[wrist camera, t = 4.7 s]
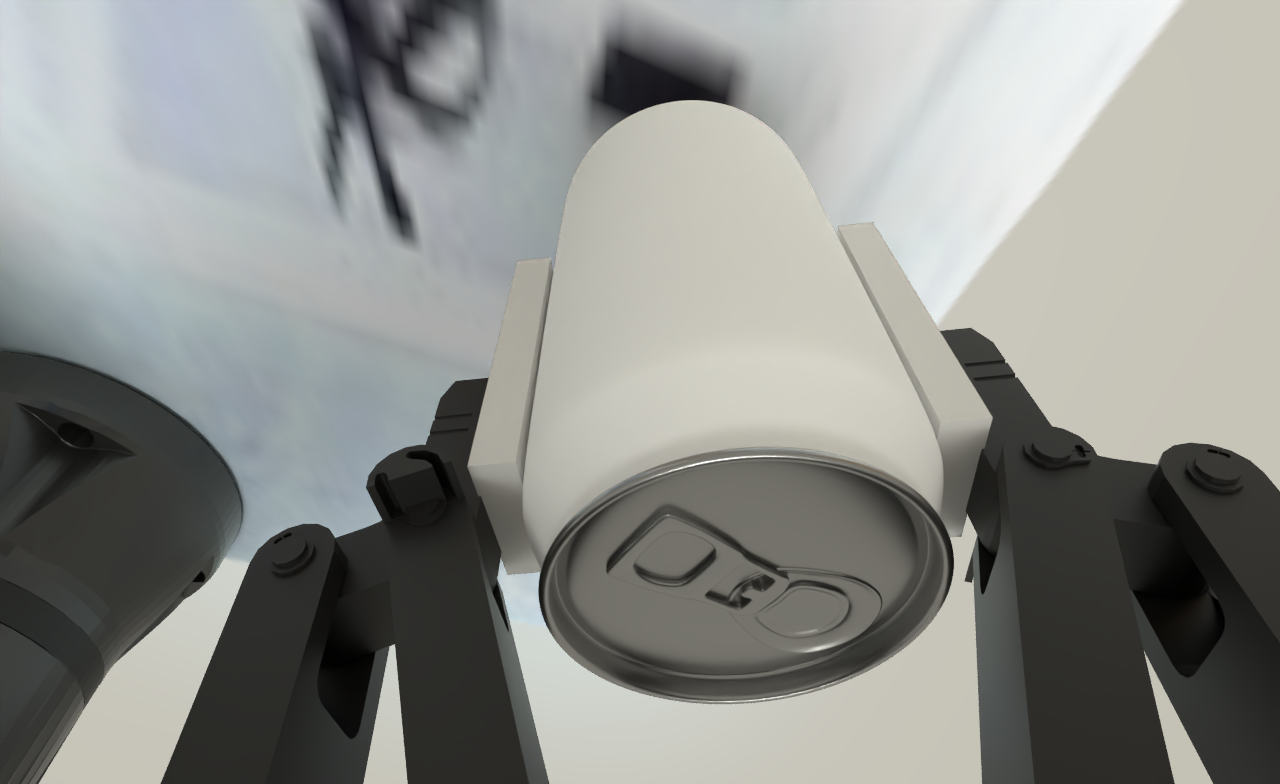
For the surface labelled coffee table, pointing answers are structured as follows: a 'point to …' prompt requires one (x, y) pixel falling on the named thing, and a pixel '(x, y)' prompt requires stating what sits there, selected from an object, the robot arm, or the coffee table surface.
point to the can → (723, 428)
